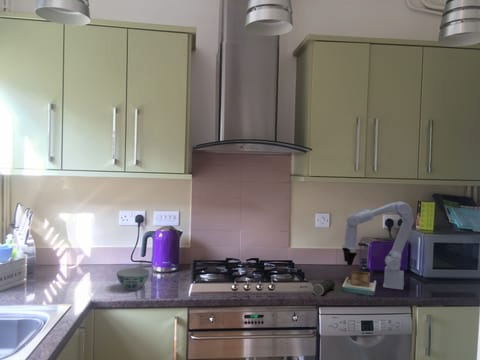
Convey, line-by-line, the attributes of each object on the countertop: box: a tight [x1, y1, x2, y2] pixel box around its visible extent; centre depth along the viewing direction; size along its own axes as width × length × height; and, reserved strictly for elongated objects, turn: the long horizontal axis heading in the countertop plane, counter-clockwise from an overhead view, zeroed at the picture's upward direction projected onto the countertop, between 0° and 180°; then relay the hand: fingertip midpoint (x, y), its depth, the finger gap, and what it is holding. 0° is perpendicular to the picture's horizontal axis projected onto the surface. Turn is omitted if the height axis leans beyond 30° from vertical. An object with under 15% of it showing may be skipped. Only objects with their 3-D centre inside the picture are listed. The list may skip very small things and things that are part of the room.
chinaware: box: [116, 267, 150, 291], centre depth 184 cm, size 15×15×8 cm
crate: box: [350, 270, 371, 287], centre depth 200 cm, size 9×7×6 cm
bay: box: [341, 276, 377, 296], centre depth 196 cm, size 15×20×2 cm
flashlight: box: [312, 278, 336, 297], centre depth 188 cm, size 15×5×5 cm, turn 144°
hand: (348, 263), depth 204 cm, fingers open, 7 cm apart
